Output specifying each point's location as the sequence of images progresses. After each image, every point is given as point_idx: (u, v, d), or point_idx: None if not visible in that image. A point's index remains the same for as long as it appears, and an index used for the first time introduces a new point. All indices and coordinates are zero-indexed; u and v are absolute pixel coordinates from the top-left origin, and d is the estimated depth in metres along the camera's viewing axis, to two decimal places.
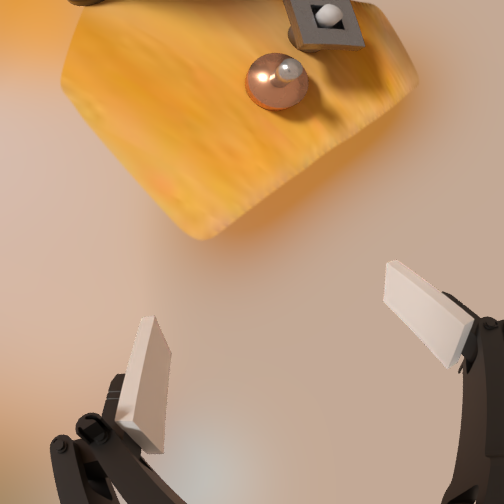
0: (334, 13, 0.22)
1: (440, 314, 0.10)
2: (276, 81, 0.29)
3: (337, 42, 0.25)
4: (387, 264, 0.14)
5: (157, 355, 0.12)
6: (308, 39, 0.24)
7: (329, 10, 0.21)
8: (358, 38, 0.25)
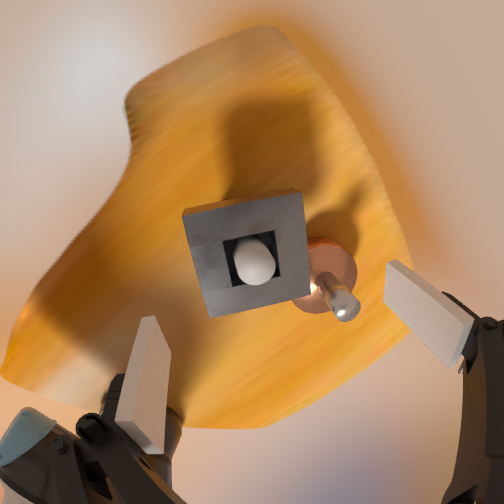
0: (258, 265, 0.20)
1: (440, 314, 0.10)
2: None
3: (304, 244, 0.21)
4: (387, 264, 0.14)
5: (157, 355, 0.12)
6: (303, 288, 0.23)
7: (253, 273, 0.20)
8: (287, 204, 0.20)
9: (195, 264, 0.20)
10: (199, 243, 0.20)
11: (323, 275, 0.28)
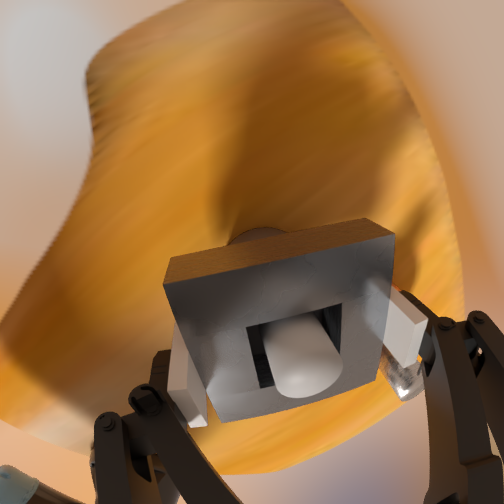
0: (314, 371, 0.10)
1: (394, 312, 0.11)
2: None
3: (383, 319, 0.11)
4: None
5: None
6: (367, 376, 0.13)
7: (304, 383, 0.10)
8: (370, 257, 0.10)
9: (195, 362, 0.10)
10: (201, 332, 0.10)
11: None
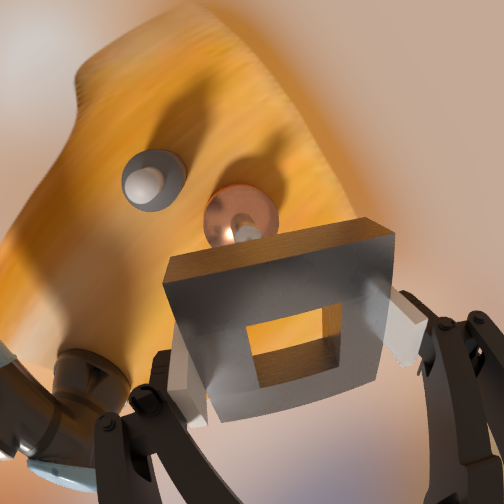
0: (142, 184, 0.20)
1: (394, 312, 0.11)
2: None
3: (383, 318, 0.11)
4: None
5: None
6: (367, 375, 0.13)
7: (138, 192, 0.20)
8: (370, 256, 0.10)
9: (195, 362, 0.10)
10: (201, 331, 0.10)
11: (237, 215, 0.29)
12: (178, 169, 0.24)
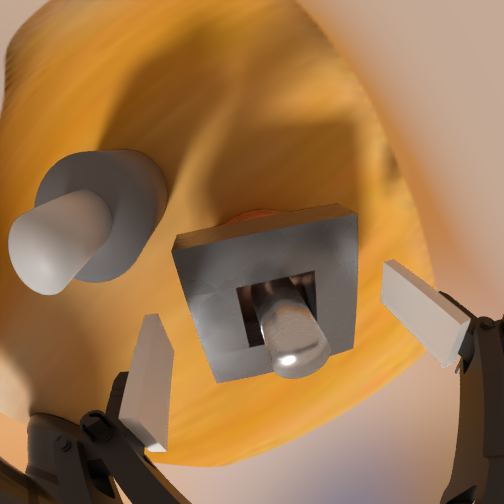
0: (38, 248, 0.06)
1: (436, 314, 0.10)
2: None
3: (353, 288, 0.14)
4: (384, 264, 0.14)
5: (160, 353, 0.12)
6: (344, 342, 0.16)
7: (36, 267, 0.06)
8: (336, 232, 0.13)
9: (195, 320, 0.13)
10: (200, 291, 0.13)
11: None
12: (138, 193, 0.10)
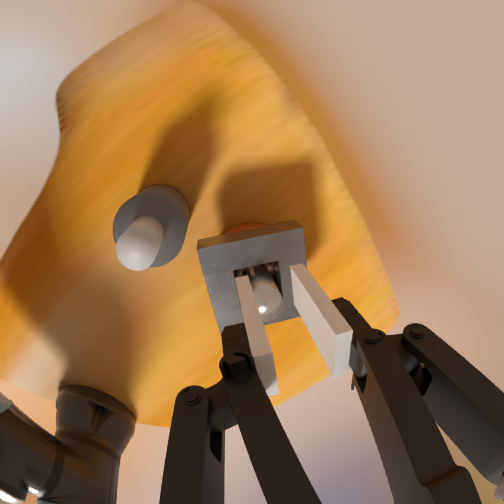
0: (136, 247, 0.16)
1: (321, 321, 0.11)
2: None
3: None
4: (290, 268, 0.16)
5: None
6: None
7: (133, 257, 0.17)
8: (290, 238, 0.23)
9: (208, 290, 0.23)
10: (212, 272, 0.23)
11: None
12: (180, 218, 0.20)
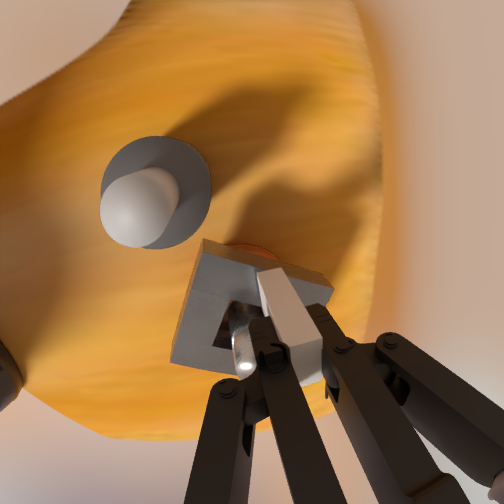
0: (138, 208, 0.09)
1: None
2: None
3: None
4: (269, 272, 0.16)
5: None
6: None
7: (124, 219, 0.09)
8: (314, 294, 0.17)
9: (186, 308, 0.16)
10: (204, 290, 0.16)
11: None
12: (208, 201, 0.14)
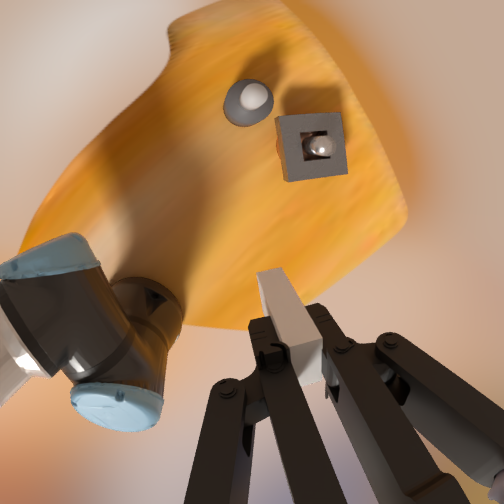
0: (256, 92, 0.26)
1: None
2: None
3: (342, 141, 0.34)
4: (269, 272, 0.16)
5: None
6: (343, 169, 0.35)
7: (253, 97, 0.26)
8: (333, 117, 0.32)
9: (284, 144, 0.33)
10: (287, 132, 0.33)
11: (307, 137, 0.35)
12: (271, 94, 0.30)
